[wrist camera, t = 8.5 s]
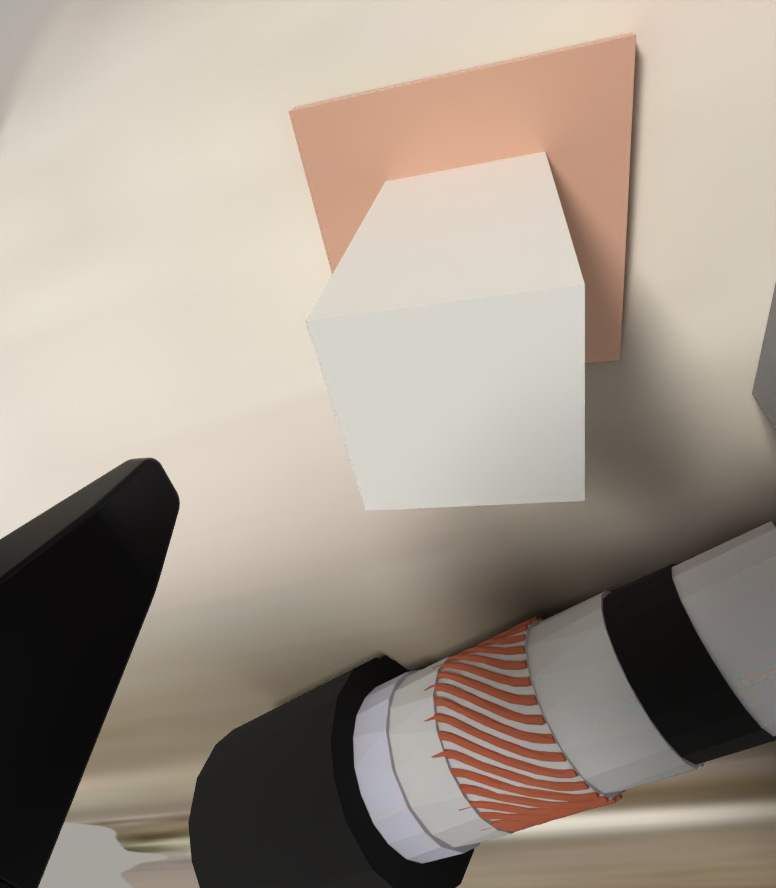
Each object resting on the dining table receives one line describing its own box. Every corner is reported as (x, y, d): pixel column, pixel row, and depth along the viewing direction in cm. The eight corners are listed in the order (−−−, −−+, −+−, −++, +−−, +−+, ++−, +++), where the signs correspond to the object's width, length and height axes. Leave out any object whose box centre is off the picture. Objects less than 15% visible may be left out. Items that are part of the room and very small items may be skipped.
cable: (895, 442, 23) (1144, 705, 17) (320, 717, 38) (353, 909, 32) (895, 330, 16) (1321, 720, 10) (183, 725, 30) (195, 974, 25)
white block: (545, 151, 14) (585, 283, 8) (551, 304, 16) (585, 501, 10) (385, 181, 15) (305, 321, 9) (412, 321, 17) (365, 510, 11)
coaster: (631, 33, 13) (636, 34, 12) (616, 350, 17) (620, 360, 17) (295, 107, 15) (288, 111, 14) (364, 375, 19) (361, 384, 19)
